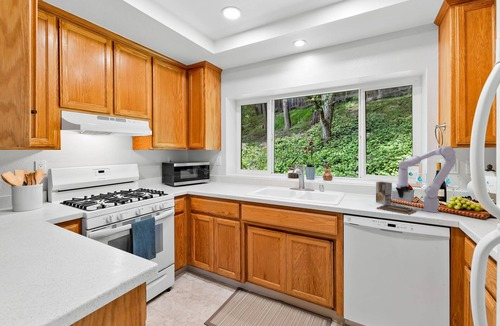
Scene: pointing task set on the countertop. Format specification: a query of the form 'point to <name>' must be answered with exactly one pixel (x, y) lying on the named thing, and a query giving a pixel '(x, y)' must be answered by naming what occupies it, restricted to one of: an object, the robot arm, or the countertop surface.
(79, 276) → the countertop surface
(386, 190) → the coffee box
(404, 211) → the jig
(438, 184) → the robot arm
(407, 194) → the gray rectangular block
